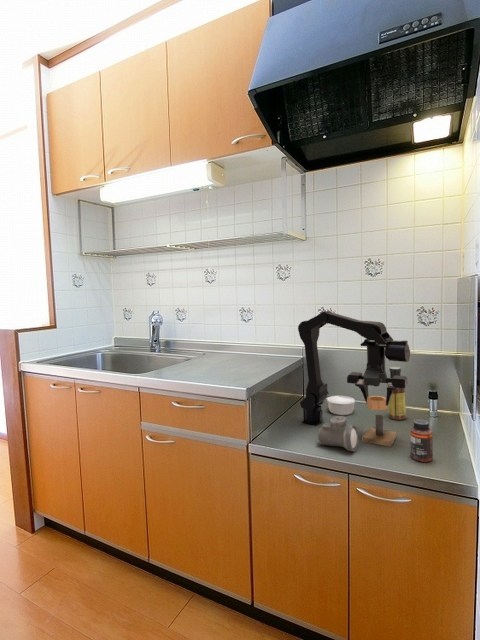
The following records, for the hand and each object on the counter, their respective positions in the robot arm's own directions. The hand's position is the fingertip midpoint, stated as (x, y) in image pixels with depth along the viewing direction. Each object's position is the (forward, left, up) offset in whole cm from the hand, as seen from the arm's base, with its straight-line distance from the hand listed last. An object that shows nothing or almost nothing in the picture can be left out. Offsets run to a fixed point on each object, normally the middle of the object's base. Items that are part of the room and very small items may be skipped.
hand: (377, 404), depth 124 cm
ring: (0, 0, -1) cm, 1 cm away
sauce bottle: (+2, +21, -12) cm, 24 cm away
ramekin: (-19, +18, -12) cm, 29 cm away
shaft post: (+1, -2, -11) cm, 12 cm away
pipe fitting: (-9, -14, -12) cm, 20 cm away
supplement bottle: (+15, -10, -12) cm, 21 cm away
